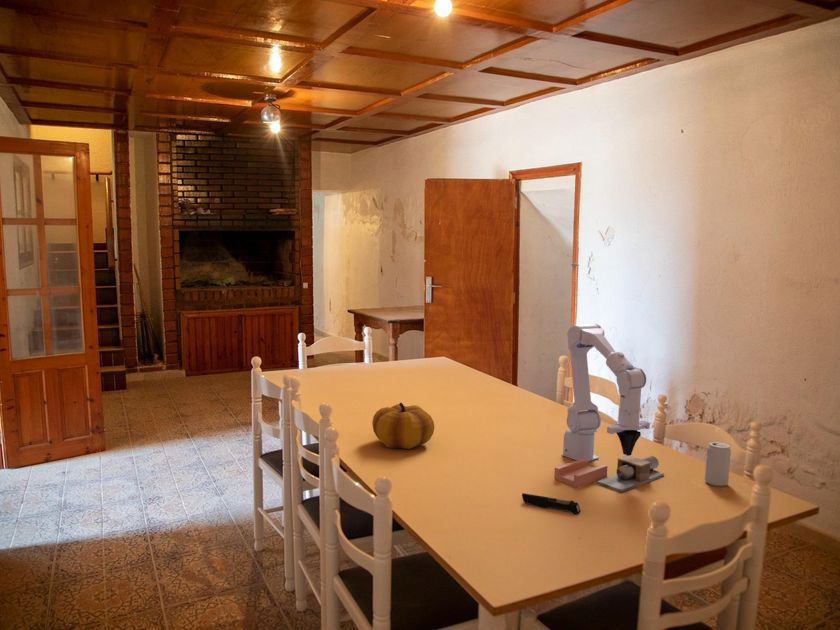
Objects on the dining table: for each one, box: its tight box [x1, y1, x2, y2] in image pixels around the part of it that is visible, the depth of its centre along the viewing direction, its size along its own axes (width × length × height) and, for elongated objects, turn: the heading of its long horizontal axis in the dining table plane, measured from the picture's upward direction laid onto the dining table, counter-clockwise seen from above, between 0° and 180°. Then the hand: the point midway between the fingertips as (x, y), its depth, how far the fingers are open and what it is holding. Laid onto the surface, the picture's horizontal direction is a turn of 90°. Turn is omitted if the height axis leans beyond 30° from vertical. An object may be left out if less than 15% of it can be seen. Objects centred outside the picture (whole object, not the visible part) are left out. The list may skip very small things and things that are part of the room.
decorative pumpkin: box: [371, 402, 435, 450], centre depth 223 cm, size 20×22×15 cm
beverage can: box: [704, 441, 732, 487], centre depth 191 cm, size 6×6×12 cm
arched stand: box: [596, 455, 665, 494], centre depth 193 cm, size 8×22×6 cm, turn 129°
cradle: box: [553, 458, 608, 488], centre depth 194 cm, size 9×14×4 cm, turn 129°
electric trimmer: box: [521, 492, 581, 515], centre depth 173 cm, size 4×16×3 cm, turn 66°
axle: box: [616, 455, 660, 480], centre depth 196 cm, size 16×4×4 cm, turn 128°
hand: (627, 454), depth 191 cm, fingers closed
